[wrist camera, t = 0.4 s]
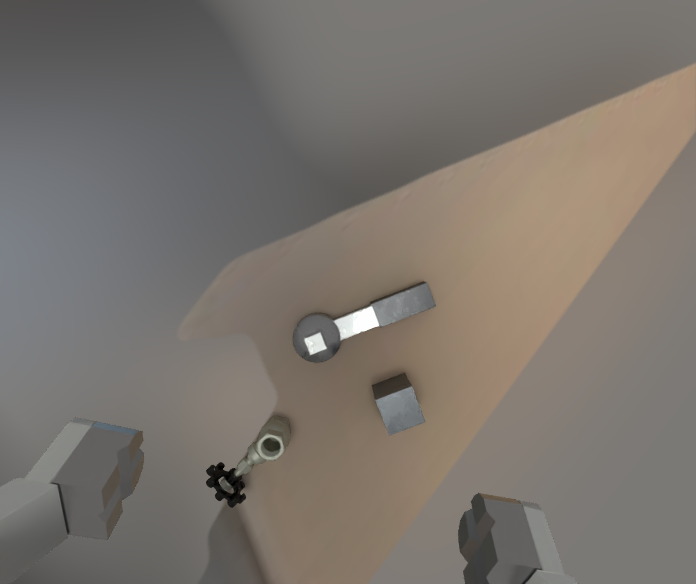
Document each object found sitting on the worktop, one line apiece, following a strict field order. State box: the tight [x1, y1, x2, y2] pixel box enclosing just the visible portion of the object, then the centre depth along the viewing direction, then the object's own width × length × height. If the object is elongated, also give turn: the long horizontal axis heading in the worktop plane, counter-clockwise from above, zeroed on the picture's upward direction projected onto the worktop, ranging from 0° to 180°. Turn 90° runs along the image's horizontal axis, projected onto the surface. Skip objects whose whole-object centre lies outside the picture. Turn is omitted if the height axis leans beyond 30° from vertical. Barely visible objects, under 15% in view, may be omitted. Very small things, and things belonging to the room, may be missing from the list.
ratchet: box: [293, 282, 436, 363], centre depth 59 cm, size 6×20×6 cm, turn 111°
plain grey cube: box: [372, 373, 425, 435], centre depth 60 cm, size 5×5×6 cm
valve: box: [206, 416, 291, 508], centre depth 60 cm, size 7×7×12 cm
